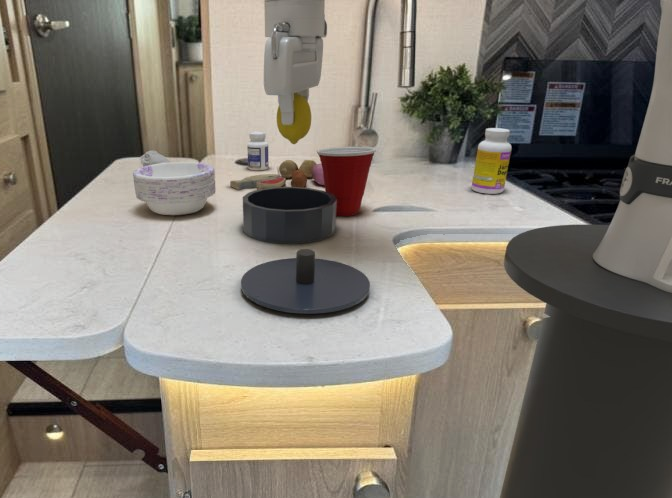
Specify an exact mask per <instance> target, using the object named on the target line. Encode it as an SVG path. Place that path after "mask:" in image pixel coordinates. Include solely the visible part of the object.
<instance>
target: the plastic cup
mask: <svg viewBox="0 0 672 498" xmlns="http://www.w3.org/2000/svg"><path fill="white" fill-rule="evenodd" d="M316 153H317V155H318V157H319V160H320V164H321V165H322V169H323V176H324V184H325V185H324V191H325V192H328V193H330V194H333V195H334V196H335V198H336V199H337V208H336V216H340V217H349V216H350V217H351V216H356V215H358V214H359V212H360V209H361V206H362V203H363V197H364V195H365V192H366V191H365V190H366V186H367V182H368V177H369V173H370V168H371V167H372V161H373V158H374V155H375V153H377V148H376V147H372V146H333V147H325V148H320V149H317V150H316Z"/></svg>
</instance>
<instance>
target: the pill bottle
mask: <svg viewBox="0 0 672 498" xmlns="http://www.w3.org/2000/svg"><path fill="white" fill-rule="evenodd" d="M249 140H250V141H248V142H247V144H246V145H247V147H246V149H247V169H248V170H251V171H266V170H268V169H269V165H270V164H269V143H268V141H266V132H265V131H250V132H249Z"/></svg>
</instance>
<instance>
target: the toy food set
mask: <svg viewBox="0 0 672 498" xmlns="http://www.w3.org/2000/svg"><path fill="white" fill-rule="evenodd" d="M278 172H279V174H277V173H266V174H265V173H263V174H256V175H251V176H246V177H244V178H242V179H240V180H230V182H229V185H230V187H231V188H233V189H234V190H235V189H236V190H238V191H240V190H242V189H252V188H256V190H260V189H266V188H273V187H287V184H286V183H287V179H290V178H291V181H290V187H302V188H305V186H306V185H307V182H308V178H309V179H310V178H312V180H314V181H315V182H316V183H317V184H318V185H320V186H325V184H324V176H323V169H322V165H321V163H317V162H316V161H315V160H311V159H304V160H303V161H302V163H301V164H300V165H299V166H298V164H297V163H296V162H295V161H294V160H292V159H285V160H284V161H282V162H281V163H280V164H279V167H278Z"/></svg>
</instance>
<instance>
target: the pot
mask: <svg viewBox="0 0 672 498" xmlns="http://www.w3.org/2000/svg"><path fill="white" fill-rule="evenodd" d="M336 208H337V199H336V198H335V196H334V195H333V194H330V193H328V192H325V190H321V189H317V188H313V187H303V188H302V187H291V186H286V187H273V188H266V189H260V190H257V189H256V190H254V191H253V190H252V191H250V192H247V193H246V194H245V195H243V196H242V223H243V224H242V226H243V232H244V233H245V234H246V235H247V236H249V237H250V238H253V239H254V240H258V241H261V242H266V243H273V244H283V245H285V244H286V245H295V244H307V243H315V242H319V241H322V240H325V239H327V238H329V237H331V236H332V235H334V233H335V229H336V227H337V225H336V224H337V222H336V221H337V215H336Z"/></svg>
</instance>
